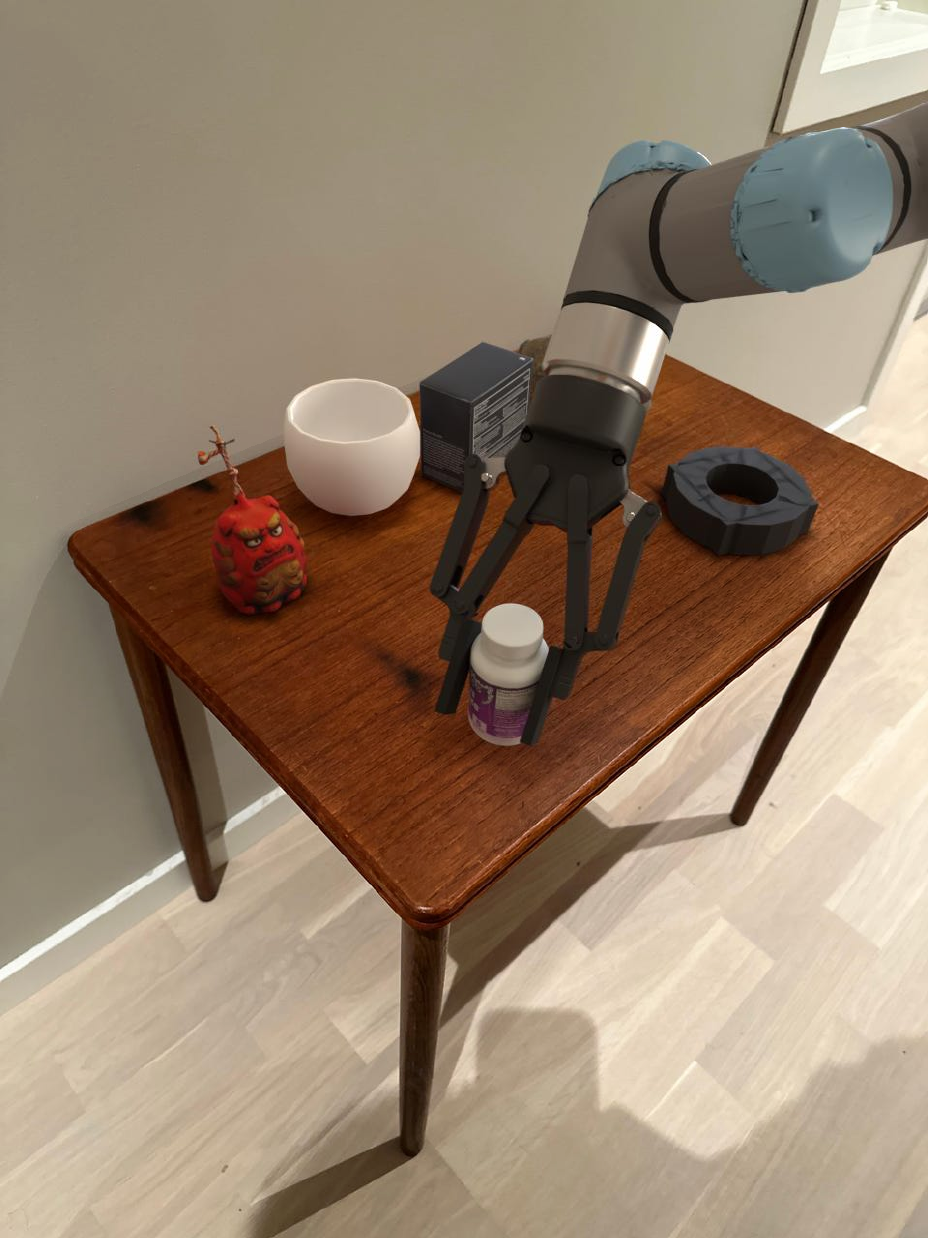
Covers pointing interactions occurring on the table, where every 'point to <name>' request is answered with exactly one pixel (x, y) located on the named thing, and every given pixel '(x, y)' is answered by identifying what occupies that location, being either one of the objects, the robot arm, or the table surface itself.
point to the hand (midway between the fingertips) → (486, 726)
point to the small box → (472, 410)
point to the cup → (351, 445)
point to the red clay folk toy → (255, 548)
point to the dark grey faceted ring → (730, 523)
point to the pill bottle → (505, 672)
